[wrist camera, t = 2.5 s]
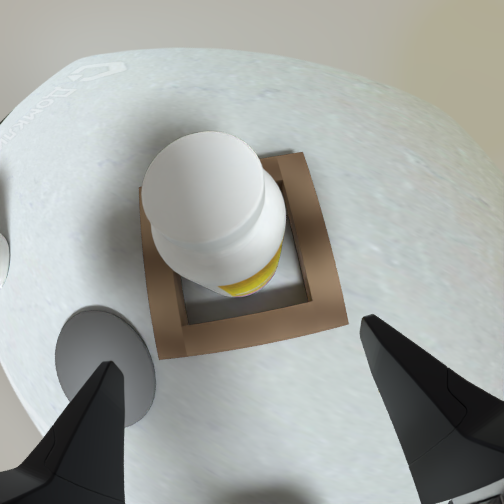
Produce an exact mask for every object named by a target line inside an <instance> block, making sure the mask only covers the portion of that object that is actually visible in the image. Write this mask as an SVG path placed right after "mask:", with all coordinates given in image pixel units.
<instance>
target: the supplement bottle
mask: <svg viewBox="0 0 504 504" xmlns="http://www.w3.org/2000/svg"><path fill="white" fill-rule="evenodd" d="M141 195H142V204H143V208H144V211H145V214H146V216H147V218H148V220H149V221H150V223H151V231H152V236H153V240H154V243H155V246H156V248H157V250H158V252H159V254H160V255H161V257H162V258H163V260H164V261H165V262H166V264H167V265H168V266H169V267H170V268H172V269H173V270H174V271H175V272H176V273H178V274H179V275H181V276H183V277H185V278H186V279H188V280H191V281H193V282H195V283H197V284H199V285H201V286H203V287H205V288H208V289H210V290H212V291H214V292H216V293H218V294H221V295H224V296H228V297H243V296H247V295H251V294H253V293H255V292H257V291H259V290H260V289H262V288H263V287H264V286H265V285H266V284H267V283H268V282H269V281H270V280H271V278H272V277H273V275H274V273H275V271H276V269H277V266H278V262H279V258H280V253H281V248H282V242H283V237H284V232H285V224H286V209H285V203H284V200H283V196H282V193H281V191H280V189H279V187H278V185H277V184H276V182H275V181H274V179H273V178H272V177H271V176H270V175H269V173H267V172H266V171H265V170H264V169H263V167H262V164H261V162H260V160H259V158H258V156H257V154H256V153H255V152H254V151H253V149H252V148H251V147H250V146H249V145H248V144H247V143H245V142H244V141H242V140H241V139H239V138H237V137H235V136H233V135H230V134H227V133H223V132H217V131H204V132H197V133H193V134H189V135H186V136H183V137H181V138H179V139H177V140H175V141H174V142H172V143H171V144H169V145H168V146H166V147H165V148H164V149H163V150H162V151H161V152H160V153H159V154H158V155H157V156H156V157H155V158H154V160H153V161H152V162H151V164H150V166H149V167H148V169H147V171H146V174H145V177H144V180H143V184H142V192H141Z"/></svg>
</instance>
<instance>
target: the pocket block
mask: <svg viewBox="0 0 504 504" xmlns="http://www.w3.org/2000/svg"><path fill="white" fill-rule="evenodd" d="M259 160H260V162H261V164H262V167H263V169H264V170H265V171H266V172H267V173H269V175H270V176H271V177H272V178H273V179H274V181H275V182H276V184H277V185H278V187H279V189H280V191H281V190H282V193H283V197H284V201H285V205H286V209H287V213H288V217H289V221H290V225H291V229H292V233H293V237H294V241H295V245H296V249H297V254H298V258H299V262H300V267H301V271H302V275H303V280H304V284H305V289H306V294H307V298H308V302H307V303H302V304H298V305H293V306H289V307H284V308H279V309H275V310H270V311H265V312H260V313H255V314H250V315H245V316H239V317H234V318H228V319H223V320H217V321H211V322H205V323H199V324H193V325H189V324H188V319H187V313H186V307H185V302H184V295H183V289H182V283H181V276H180V275H179V274H178V273H176V272H175V271H174V270H173V269H172V268H170V267H169V266H168V265H167V264H166V262H165V261H164V260H163V258H162V257H161V255H160V254H159V252H158V250H157V248H156V246H155V243H154V240H153V236H152V231H151V223H150V221H149V220H148V218H147V216H146V214H145V211H144V208H143V204H142V195H141V192H142V187H139V204H140V222H141V236H142V248H143V259H144V268H145V277H146V285H147V292H148V300H149V306H150V313H151V319H152V325H153V331H154V337H155V342H156V347H157V352H158V357H159V360H162V359H171V358H180V357H188V356H196V355H203V354H210V353H217V352H223V351H229V350H235V349H241V348H247V347H252V346H257V345H263V344H268V343H273V342H277V341H282V340H287V339H291V338H296V337H300V336H305V335H309V334H313V333H317V332H321V331H325V330H329V329H333V328H337V327H340V326H344V325H348V324H349V323H348V318H347V313H346V308H345V303H344V299H343V294H342V290H341V285H340V281H339V277H338V272H337V268H336V264H335V260H334V256H333V252H332V248H331V244H330V241H329V237H328V233H327V229H326V226H325V222H324V219H323V215H322V212H321V208H320V205H319V201H318V198H317V195H316V191H315V188H314V185H313V182H312V179H311V175H310V172H309V169H308V166H307V163H306V160H305V157H304V154H303V152H299V153H292V154H286V155H280V156H274V157H268V158H262V159H259Z"/></svg>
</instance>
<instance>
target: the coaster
mask: <svg viewBox="0 0 504 504" xmlns="http://www.w3.org/2000/svg"><path fill="white" fill-rule="evenodd" d="M109 360H111V361H113V362H114V363H115V364H116V365H117V366H118V368H119V369H120V370H121V371H122V372H123V375H124V391H125V427H129V426H131V425H133V424H135V423H136V422H138V421H139V420H140V419H142V418H143V417H144V416H145V415H146V413H147V412H148V410H149V409H150V407H151V405H152V402H153V399H154V395H155V387H156V379H155V371H154V366H153V363H152V359H151V356H150V354H149V352H148V350H147V348H146V346H145V344H144V342H143V341H142V339H141V338H140V336H139V335H138V334H137V333H136V331H135V330H134V329H133V328H132V327H131V326H130V325H129V324H127V323H126V322H125V321H123V320H122V319H121V318H119V317H117V316H115V315H113V314H110V313H107V312H103V311H85V312H82V313H79V314H77V315H75V316H74V317H72V318H71V319H70V320H69V321H68V322H67V323H66V324H65V325H64V327H63V328H62V330H61V332H60V334H59V337H58V340H57V344H56V350H55V365H56V371H57V376H58V379H59V382H60V385H61V387H62V389H63V391H64V393H65V395H66V397H67V398H68V400H69V401H70V402H71V400H72V399H73V398H74V396H75V395H76V394H77V393H78V391H79V390H80V389H81V387H82V386H83V385H84V384H85V382H86V381H87V380H88V378H89V377H90V376H91V375H92V373H93V372H94V371H95V370H96V368H97V367H98V366H99V365H100V363H101V362H102V361H109ZM125 427H124V428H125Z"/></svg>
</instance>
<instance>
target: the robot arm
mask: <svg viewBox="0 0 504 504" xmlns="http://www.w3.org/2000/svg"><path fill="white" fill-rule="evenodd" d="M360 338H361V341H362V344H363V348H364V351H365V354H366V357H367V360H368V364H369V367H370V370H371V373H372V376H373V378H374V381H375V383H376V385H377V388H378V390H379V392H380V395H381V397H382V399H383V402H384V404H385V406H386V409H387V411H388V414H389V416H390V419H391V421H392V424H393V426H394V429H395V431H396V434H397V436H398V439H399V441H400V444H401V447H402V449H403V452H404V455H405V457H406V460H407V463H408V465H409V469H410V471H411V474H412V477H413V480H414V483H415V486H416V489H417V492H418V495H419V498H420V501H421V504H436V503H440V502H443V501H446V500H450V499H452V500H451V501H449V503H448V504H504V401H502V400H500V399H498V398H496V397H495V396H493V395H491V394H489V393H488V392H486V391H484V390H482V389H481V388H479V387H477V386H475V385H474V384H472V383H470V382H469V381H467V380H466V379H464V378H463V377H461V376H460V375H458V374H457V373H455V372H454V371H453V370H451V369H450V368H447V366H446V365H444V364H443V363H442V362H440V361H439V360H437V359H436V358H435V357H433V356H432V355H431V354H429V353H428V352H426V351H425V350H424V349H422V348H421V347H419V346H418V345H417V344H415V343H414V342H412V341H411V340H410V339H408V338H407V337H405V336H404V335H403V334H401V333H400V332H398V331H397V330H396V329H394V328H393V327H391V326H390V325H389V324H387V323H386V322H384V321H383V320H381V319H380V318H379V317H377V316H376V315H374V314H371V315H367V316H364V317H363V318H362V321H361V327H360ZM124 427H125V391H124V375H123V372H122V371H121V370H120V369H119V368H118V366H117V365H116V364H115V363H114V362H113V361H111V360H109V361H102V362H101V363H100V365H99V366H98V367H97V368H96V370H95V371H94V372H93V373H92V375H91V376H90V377H89V378H88V380H87V381H86V382H85V384H84V385H83V386H82V387H81V389H80V390H79V391H78V393H77V394H76V395H75V396H74V398H73V399H72V400H71V402H70V403H69V404H68V406H67V407H66V408H65V410H64V411H63V412H62V414H61V415H60V416H59V418H58V419H57V420H56V422H55V423H54V425H53V426H52V427H51V428H50V430H49V431H48V432H47V434H46V435H45V436H44V438H43V439H42V440H41V442H40V443H39V444H38V445H37V446H36V448H35V449H34V450H33V451H32V452H31V453H30V454H29V456H28V457H27V458H26V459H25V460H24V461H23V462H22V464H20V465H19V466H18V467H16V468H14V469H11V470H7V471H3V472H0V504H125V494H124Z"/></svg>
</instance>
